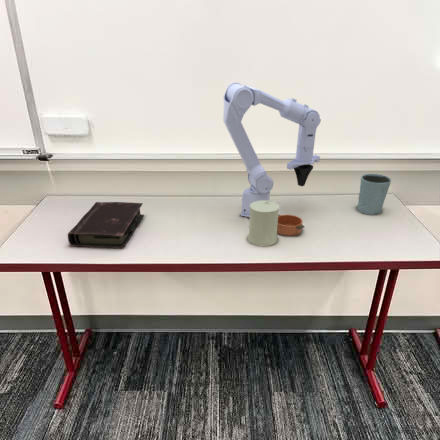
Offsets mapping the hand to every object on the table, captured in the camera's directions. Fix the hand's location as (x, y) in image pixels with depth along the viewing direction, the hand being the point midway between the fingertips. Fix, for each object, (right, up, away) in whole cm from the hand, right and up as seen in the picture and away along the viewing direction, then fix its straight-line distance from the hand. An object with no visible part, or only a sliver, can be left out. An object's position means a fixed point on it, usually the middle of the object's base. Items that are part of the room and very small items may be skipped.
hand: (301, 185), depth 151 cm
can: (-15, -21, -14) cm, 30 cm away
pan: (-6, -17, -9) cm, 20 cm away
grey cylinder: (+26, -8, +5) cm, 28 cm away
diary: (-66, -18, -9) cm, 69 cm away
